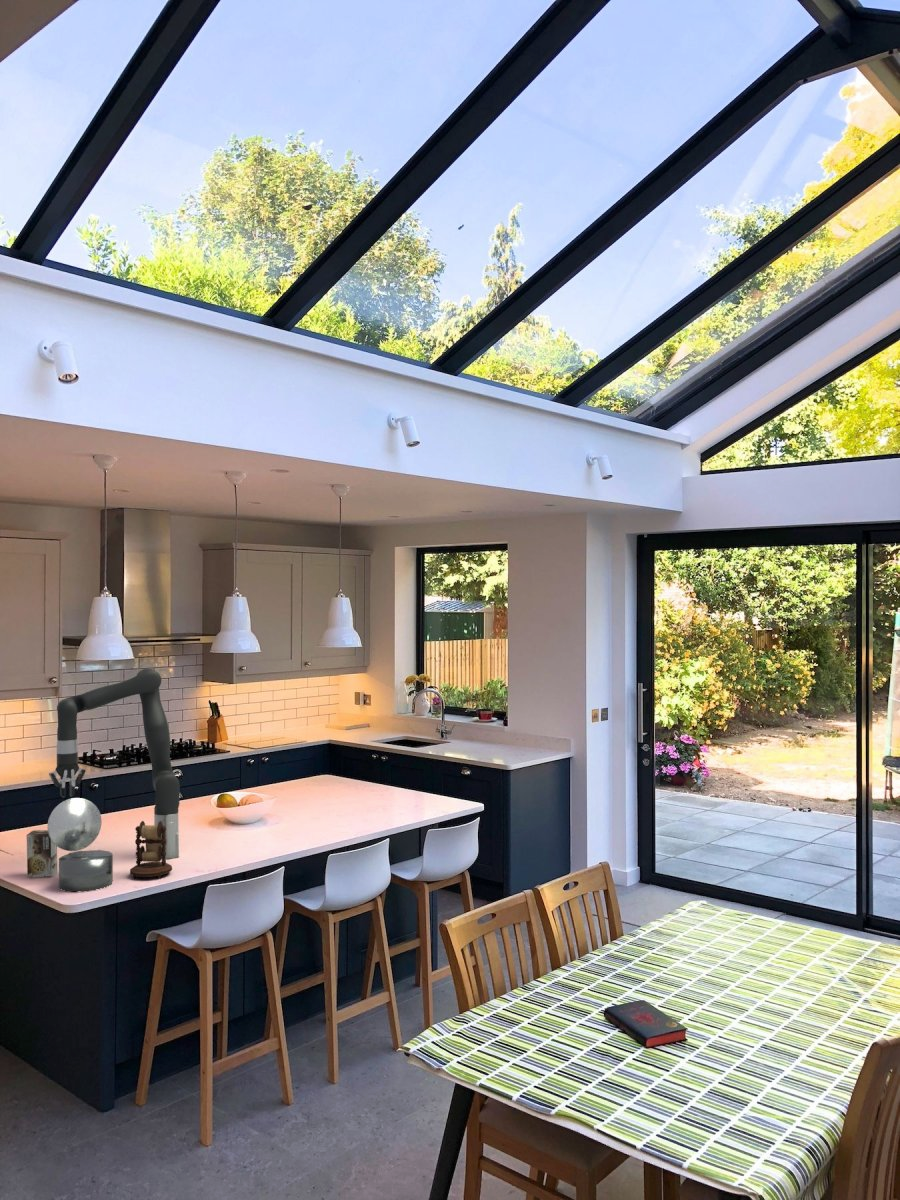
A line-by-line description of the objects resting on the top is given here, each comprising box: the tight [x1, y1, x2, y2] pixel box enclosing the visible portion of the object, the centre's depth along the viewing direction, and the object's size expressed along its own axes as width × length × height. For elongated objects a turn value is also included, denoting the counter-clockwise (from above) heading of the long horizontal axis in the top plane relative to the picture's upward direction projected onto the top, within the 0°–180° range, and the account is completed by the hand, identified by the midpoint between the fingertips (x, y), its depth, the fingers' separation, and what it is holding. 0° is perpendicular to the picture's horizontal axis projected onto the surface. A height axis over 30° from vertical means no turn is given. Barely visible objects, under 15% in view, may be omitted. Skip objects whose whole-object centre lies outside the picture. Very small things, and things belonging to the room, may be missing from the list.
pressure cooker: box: [58, 849, 114, 892], centre depth 343 cm, size 19×18×10 cm
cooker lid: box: [46, 797, 102, 852], centre depth 352 cm, size 19×19×3 cm
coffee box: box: [26, 829, 58, 878], centre depth 355 cm, size 9×6×16 cm
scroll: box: [129, 820, 173, 880], centre depth 354 cm, size 15×15×20 cm
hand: (67, 796), depth 365 cm, fingers closed
